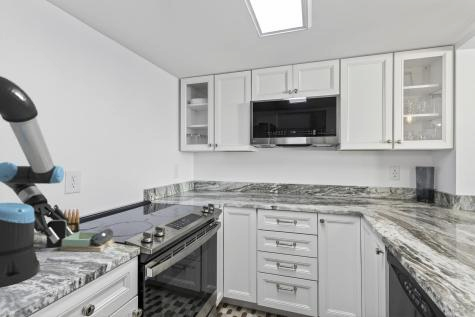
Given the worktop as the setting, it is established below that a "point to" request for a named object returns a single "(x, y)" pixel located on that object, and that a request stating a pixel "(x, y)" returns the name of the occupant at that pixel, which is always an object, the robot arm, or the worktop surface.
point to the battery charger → (57, 232)
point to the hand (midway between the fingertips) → (63, 238)
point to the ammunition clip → (73, 220)
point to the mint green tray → (88, 241)
